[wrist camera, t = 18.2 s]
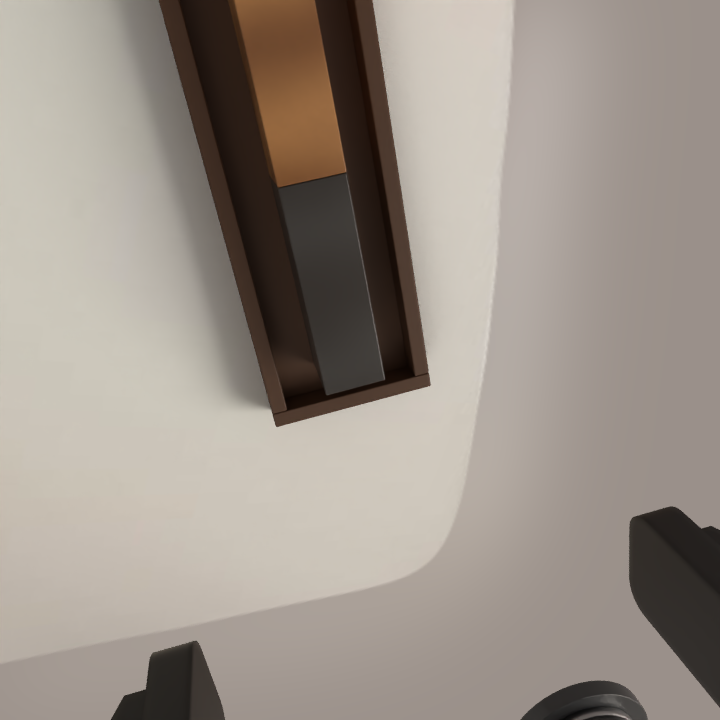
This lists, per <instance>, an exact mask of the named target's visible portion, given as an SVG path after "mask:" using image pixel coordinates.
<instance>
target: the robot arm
mask: <svg viewBox="0 0 720 720" xmlns="http://www.w3.org/2000/svg"><path fill="white" fill-rule="evenodd" d="M629 541H630V542H629V543H630V544H629V545H630V546H629V549H630V550H629V580H630V586H631V590H632V593H633V596H634V599H635V601H636V603H637V605H638V607H639V609H640V610H641V611H642V613H643V614H644V616H645V617H646V618H647V619H648V621H649V622H650V623H651V624H652V626H653V627H654V628H655V629H656V630H657V632H658V633H659V634H660V635H661V636H662V638H663V639H664V640H665V641H666V642H667V644H668V645H669V646H670V647H671V649H672V650H673V651H674V652H675V653H676V655H677V656H678V657H679V658H680V660H681V661H682V662H683V663H684V664H685V666H686V667H687V668H688V669H689V671H690V672H691V673H692V674H693V676H694V677H695V678H696V679H697V680H698V681H699V683H700V684H701V685H702V686H703V688H704V689H705V690H706V691H707V692H708V694H709V695H710V696H711V697H712V699H713V700H714V701H715V702H716V703H717V705H718V706H719V707H720V530H718V529H716V528H714V527H712V526H709V527H706V528H702V529H701V528H700V527H698V526H697V525H696V524H695V523H694V522H693V521H692V520H691V519H690V518H688V517H687V516H686V515H685V514H684V513H683V512H682V511H681V510H679V509H678V508H676V507H667V508H663V509H660V510H657V511H653V512H650V513H646V514H642V515H639V516H636V517H633V518H632V519H631V521H630V534H629ZM111 720H225V717H224V712H223V708H222V704H221V701H220V698H219V696H218V693H217V690H216V687H215V684H214V682H213V679H212V676H211V674H210V671H209V668H208V666H207V663H206V660H205V658H204V655H203V652H202V649H201V647H200V645H199V643H198V642H197V641H193V642H189V643H186V644H182V645H179V646H175V647H172V648H168V649H165V650H162V651H158V652H154V653H153V654H152V655H151V657H150V661H149V668H148V676H147V685H146V690H143V691H139V692H136V693H132V694H129V695H125V696H124V697H123V699H122V701H121V703H120V704H119V706H118V708H117V710H116V712H115V713H114V715H113V717H112V719H111ZM562 720H632V719H631V717H630V716H629V715H628V714H627V713H625V712H624V711H622V710H620V709H617V708H612V707H595V708H589V709H585V710H582V711H579V712H576V713H574V714H572V715H570V716H568V717H566V718H564V719H562Z"/></svg>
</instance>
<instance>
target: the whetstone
mask: <svg viewBox="0 0 720 720" xmlns="http://www.w3.org/2000/svg"><path fill="white" fill-rule="evenodd" d="M228 3H229V7H230V12H231V16H232V20H233V24H234V28H235V33H236V37H237V41H238V45H239V50H240V54H241V58H242V62H243V66H244V71H245V75H246V79H247V83H248V88H249V92H250V96H251V100H252V104H253V109H254V113H255V117H256V121H257V126H258V130H259V134H260V138H261V142H262V147H263V151H264V155H265V159H266V163H267V168H268V172H269V175H270V180H271V185H272V189H273V193H274V197H275V201H276V206H277V210H278V214H279V218H280V222H281V227H282V231H283V235H284V239H285V244H286V248H287V252H288V256H289V260H290V265H291V269H292V273H293V277H294V282H295V286H296V290H297V294H298V298H299V303H300V307H301V311H302V315H303V320H304V324H305V328H306V332H307V336H308V341H309V345H310V349H311V353H312V358H313V362H314V365H315V368H316V370H317V373H318V375H319V378H320V381H321V383H322V386H323V388H324V391H325V394H326V395H330V394H334V393H338V392H341V391H345V390H349V389H353V388H356V387H360V386H364V385H368V384H371V383H375V382H379V381H383V380H385V375H384V369H383V364H382V358H381V353H380V348H379V342H378V337H377V332H376V326H375V321H374V316H373V310H372V305H371V299H370V294H369V289H368V283H367V278H366V273H365V267H364V262H363V257H362V251H361V246H360V241H359V235H358V230H357V224H356V219H355V214H354V208H353V203H352V198H351V192H350V187H349V182H348V176H347V173H346V165H345V160H344V154H343V149H342V144H341V138H340V133H339V128H338V122H337V117H336V112H335V106H334V101H333V96H332V90H331V85H330V79H329V74H328V69H327V63H326V58H325V53H324V47H323V42H322V37H321V31H320V26H319V20H318V15H317V10H316V4H315V0H228Z"/></svg>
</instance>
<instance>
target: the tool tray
mask: <svg viewBox="0 0 720 720" xmlns="http://www.w3.org/2000/svg"><path fill="white" fill-rule="evenodd" d="M159 3H160V7H161V11H162V14H163V18H164V22H165V25H166V29H167V32H168V36H169V40H170V43H171V47H172V51H173V54H174V58H175V62H176V65H177V69H178V72H179V76H180V80H181V83H182V87H183V91H184V94H185V98H186V101H187V105H188V109H189V112H190V116H191V120H192V123H193V127H194V131H195V134H196V138H197V141H198V145H199V149H200V152H201V156H202V160H203V163H204V167H205V171H206V174H207V178H208V181H209V185H210V189H211V192H212V196H213V200H214V203H215V207H216V210H217V214H218V218H219V221H220V225H221V229H222V232H223V236H224V240H225V243H226V247H227V250H228V254H229V258H230V261H231V265H232V269H233V272H234V276H235V280H236V283H237V287H238V290H239V294H240V298H241V301H242V305H243V309H244V312H245V316H246V319H247V323H248V327H249V330H250V334H251V338H252V341H253V345H254V349H255V352H256V356H257V359H258V363H259V367H260V370H261V374H262V378H263V381H264V385H265V388H266V392H267V396H268V399H269V403H270V407H271V410H272V413H273V418H274V421H275V425H276V427H279V426H282V425H286V424H290V423H293V422H297V421H301V420H305V419H308V418H312V417H316V416H319V415H323V414H327V413H331V412H334V411H338V410H342V409H346V408H349V407H353V406H357V405H360V404H364V403H368V402H372V401H375V400H379V399H383V398H387V397H390V396H394V395H398V394H401V393H405V392H409V391H413V390H416V389H420V388H424V387H428V386H430V385H431V384H430V377H429V373H428V364H427V358H426V351H425V345H424V338H423V331H422V325H421V318H420V312H419V305H418V298H417V292H416V285H415V279H414V272H413V265H412V259H411V252H410V246H409V239H408V232H407V226H406V219H405V213H404V206H403V199H402V193H401V186H400V180H399V173H398V166H397V160H396V153H395V147H394V140H393V133H392V127H391V120H390V114H389V107H388V100H387V94H386V87H385V81H384V74H383V67H382V61H381V54H380V48H379V41H378V34H377V28H376V21H375V15H374V8H373V1H372V0H315V4H316V10H317V15H318V20H319V26H320V31H321V37H322V42H323V47H324V53H325V58H326V63H327V69H328V74H329V79H330V85H331V90H332V96H333V101H334V106H335V112H336V117H337V122H338V128H339V133H340V138H341V144H342V149H343V154H344V160H345V165H346V173H347V176H348V182H349V187H350V192H351V198H352V203H353V208H354V214H355V219H356V224H357V230H358V235H359V241H360V246H361V251H362V257H363V262H364V267H365V273H366V278H367V283H368V289H369V294H370V299H371V305H372V310H373V316H374V321H375V326H376V332H377V337H378V342H379V348H380V353H381V358H382V364H383V369H384V375H385V380H383V381H379V382H375V383H371V384H368V385H364V386H360V387H356V388H353V389H349V390H345V391H341V392H338V393H334V394H330V395H326V394H325V391H324V388H323V386H322V383H321V381H320V378H319V375H318V373H317V370H316V368H315V365H314V362H313V358H312V353H311V349H310V345H309V341H308V336H307V332H306V328H305V324H304V320H303V315H302V311H301V307H300V303H299V298H298V294H297V290H296V286H295V282H294V277H293V273H292V269H291V265H290V260H289V256H288V252H287V248H286V244H285V239H284V235H283V231H282V227H281V222H280V218H279V214H278V210H277V206H276V201H275V197H274V193H273V189H272V185H271V180H270V175H269V172H268V168H267V163H266V159H265V155H264V151H263V147H262V142H261V138H260V134H259V130H258V126H257V121H256V117H255V113H254V109H253V104H252V100H251V96H250V92H249V88H248V83H247V79H246V75H245V71H244V66H243V62H242V58H241V54H240V50H239V45H238V41H237V37H236V33H235V28H234V24H233V20H232V16H231V12H230V7H229V3H228V0H159Z"/></svg>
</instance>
